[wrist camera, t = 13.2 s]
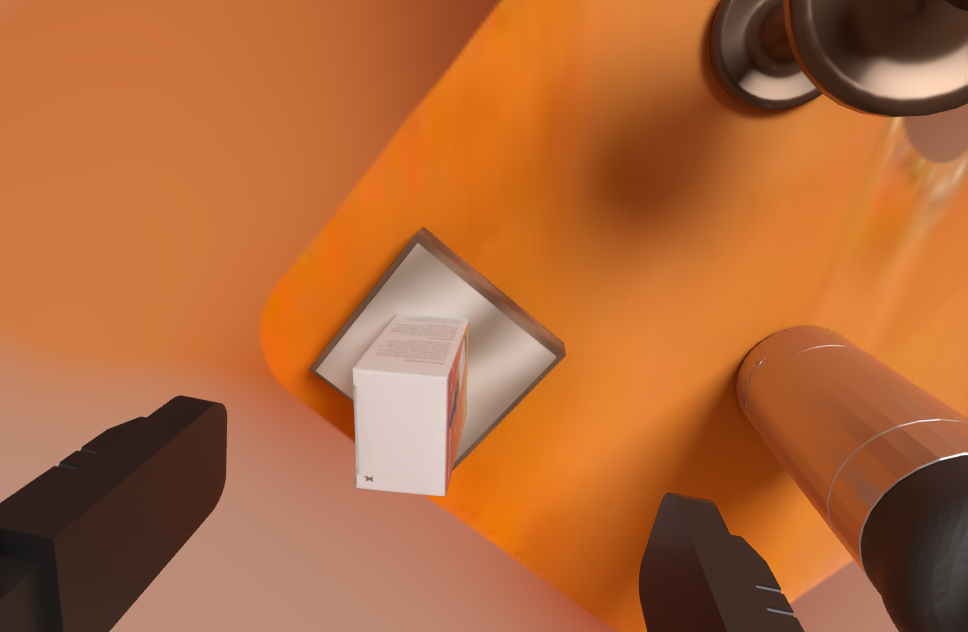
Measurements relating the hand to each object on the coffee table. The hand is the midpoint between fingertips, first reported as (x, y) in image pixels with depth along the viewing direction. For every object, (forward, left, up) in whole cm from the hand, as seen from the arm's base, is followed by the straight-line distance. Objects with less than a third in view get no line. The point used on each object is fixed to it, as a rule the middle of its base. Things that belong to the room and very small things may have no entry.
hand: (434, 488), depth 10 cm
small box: (+4, +11, -29) cm, 32 cm away
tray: (+4, +11, -32) cm, 34 cm away
